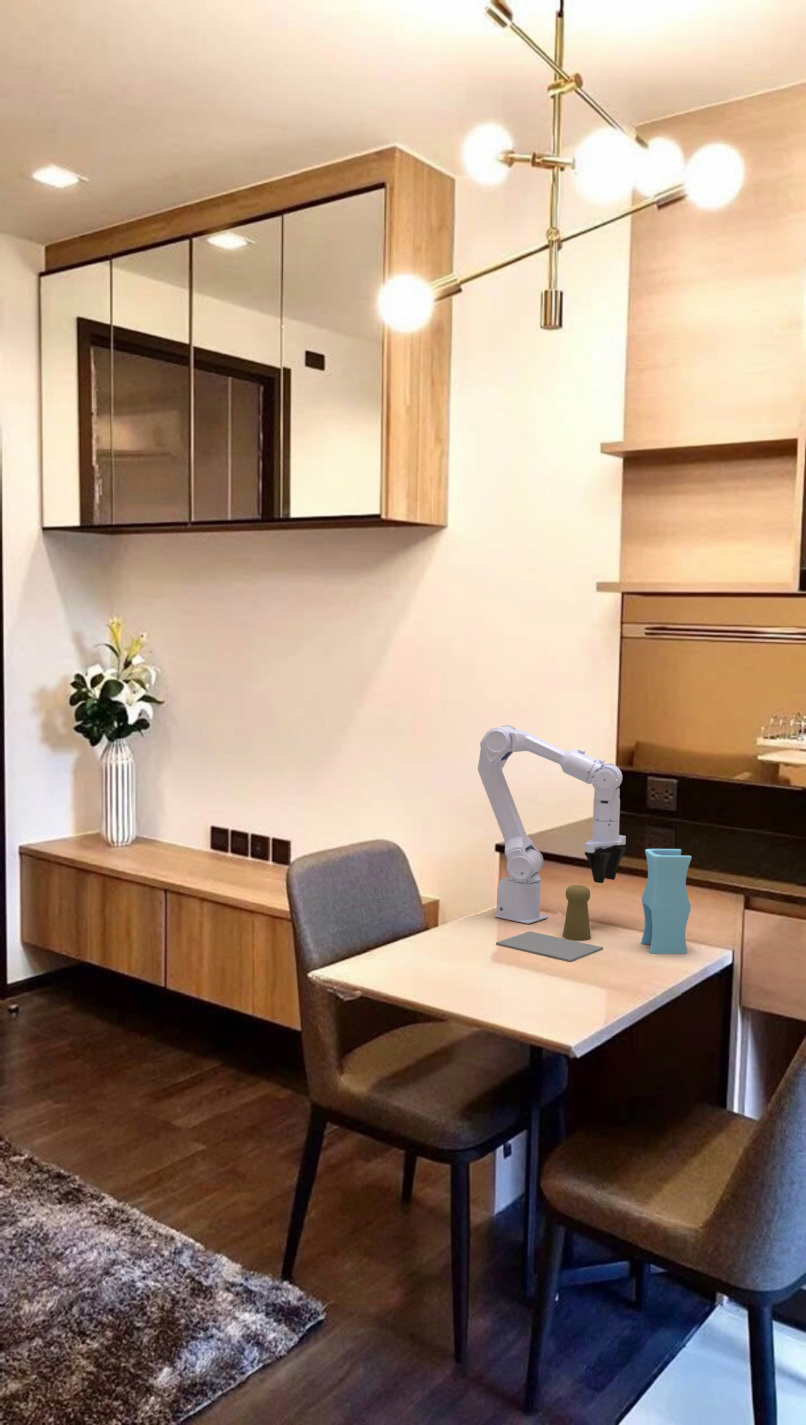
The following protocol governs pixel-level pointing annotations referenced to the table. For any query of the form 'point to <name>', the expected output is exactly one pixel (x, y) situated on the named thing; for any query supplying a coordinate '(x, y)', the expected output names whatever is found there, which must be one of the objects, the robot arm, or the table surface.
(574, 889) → the olive waisted cylinder
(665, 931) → the vase
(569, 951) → the mat
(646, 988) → the table surface
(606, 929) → the table surface
